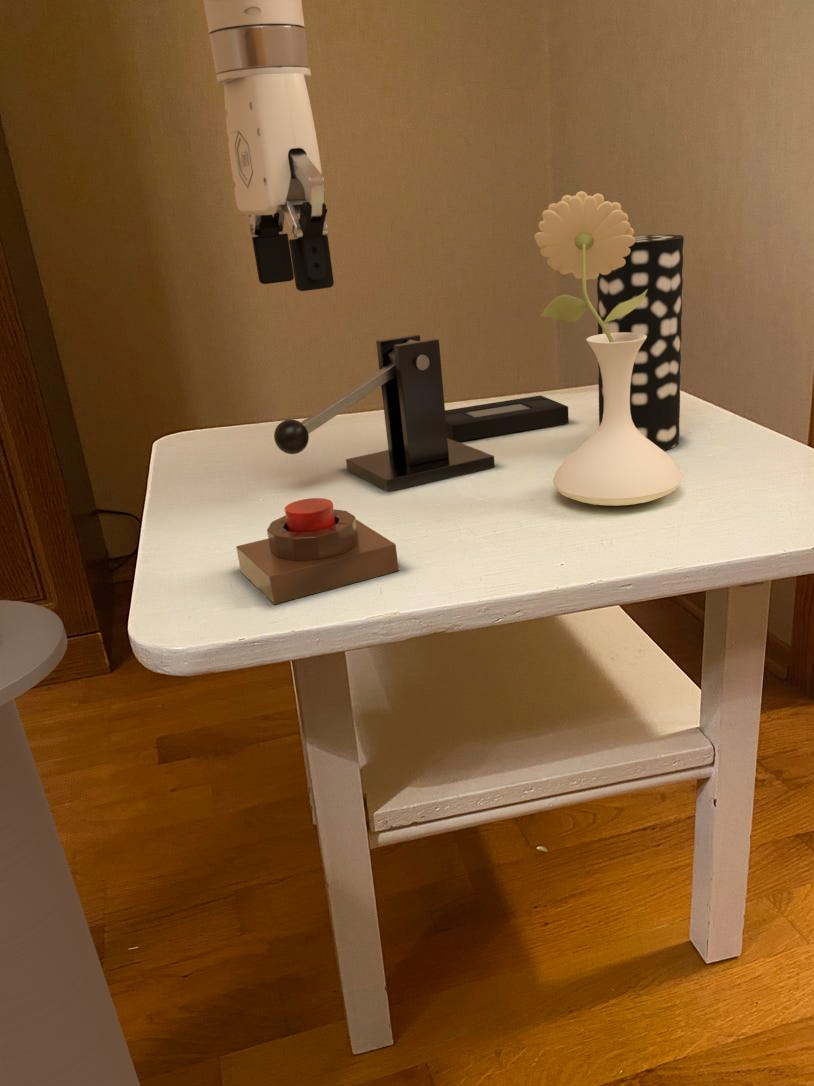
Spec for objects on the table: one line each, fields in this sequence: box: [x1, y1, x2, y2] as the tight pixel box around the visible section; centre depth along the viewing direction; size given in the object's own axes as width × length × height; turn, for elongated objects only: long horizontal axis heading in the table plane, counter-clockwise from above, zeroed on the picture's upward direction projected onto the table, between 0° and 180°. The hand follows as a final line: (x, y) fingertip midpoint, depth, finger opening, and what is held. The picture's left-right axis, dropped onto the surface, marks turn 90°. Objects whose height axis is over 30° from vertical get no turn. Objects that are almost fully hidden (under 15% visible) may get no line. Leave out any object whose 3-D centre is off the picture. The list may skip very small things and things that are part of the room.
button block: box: [235, 508, 399, 605], centre depth 74 cm, size 10×8×4 cm
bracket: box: [345, 334, 496, 493], centre depth 95 cm, size 12×10×13 cm
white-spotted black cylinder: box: [596, 234, 685, 452], centre depth 97 cm, size 8×8×20 cm
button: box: [284, 497, 336, 533], centre depth 72 cm, size 4×4×2 cm
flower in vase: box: [534, 190, 684, 507], centre depth 81 cm, size 13×11×25 cm
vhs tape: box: [445, 395, 570, 443], centre depth 111 cm, size 8×14×2 cm, turn 112°
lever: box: [273, 340, 416, 455], centre depth 92 cm, size 17×3×3 cm, turn 121°
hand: (295, 285), depth 84 cm, fingers open, 9 cm apart
